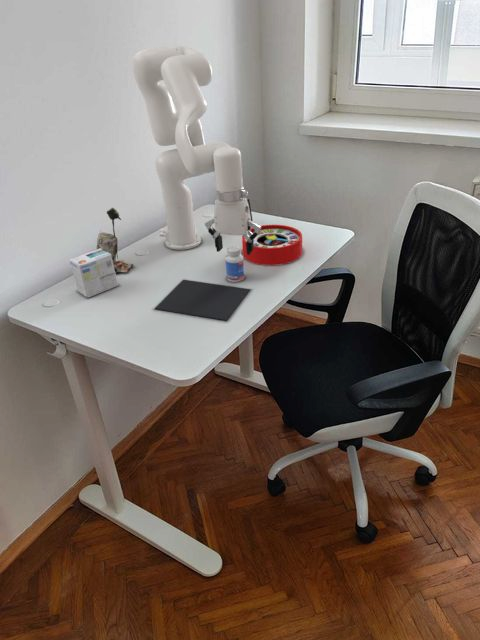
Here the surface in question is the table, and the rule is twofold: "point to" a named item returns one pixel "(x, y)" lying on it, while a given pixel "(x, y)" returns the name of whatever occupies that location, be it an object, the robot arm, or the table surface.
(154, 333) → the table surface
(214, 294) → the desk mat
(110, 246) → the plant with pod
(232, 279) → the pill bottle
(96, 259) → the light bulb box
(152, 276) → the table surface
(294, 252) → the toy clock
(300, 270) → the table surface
